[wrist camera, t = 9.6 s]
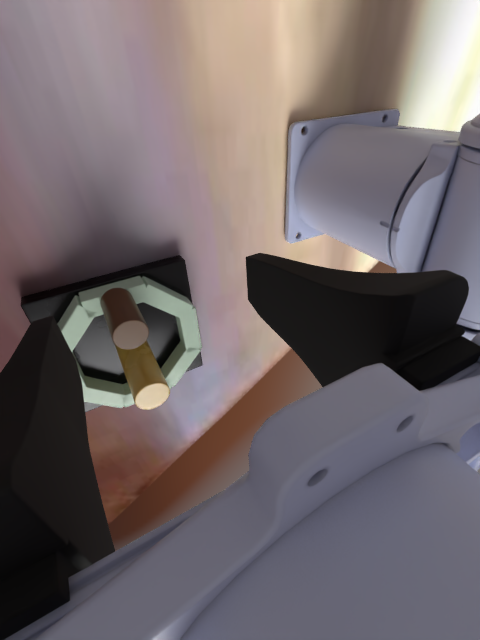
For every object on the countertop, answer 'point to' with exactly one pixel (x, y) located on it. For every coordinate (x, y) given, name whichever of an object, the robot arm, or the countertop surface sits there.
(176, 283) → the peg stand
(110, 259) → the countertop surface
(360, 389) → the robot arm
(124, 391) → the ring
